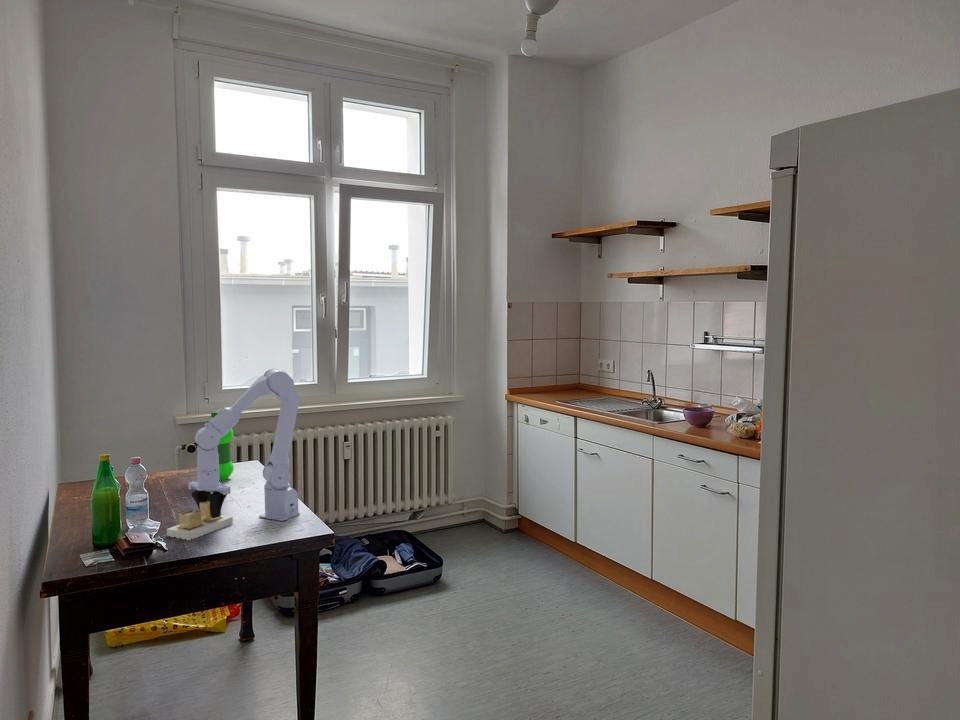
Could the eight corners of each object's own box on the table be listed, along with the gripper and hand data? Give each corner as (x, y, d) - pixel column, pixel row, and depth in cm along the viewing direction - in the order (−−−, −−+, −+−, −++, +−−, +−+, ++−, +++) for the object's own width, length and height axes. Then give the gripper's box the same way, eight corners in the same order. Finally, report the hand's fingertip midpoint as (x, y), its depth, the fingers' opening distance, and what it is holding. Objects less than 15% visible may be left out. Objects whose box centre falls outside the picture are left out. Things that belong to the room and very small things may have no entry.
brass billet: (221, 520, 195) (220, 499, 195) (210, 524, 192) (209, 503, 191) (211, 518, 197) (210, 498, 197) (200, 522, 193) (199, 501, 193)
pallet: (232, 523, 196) (232, 516, 196) (189, 540, 182) (188, 533, 182) (211, 519, 200) (211, 513, 200) (167, 536, 186) (166, 528, 186)
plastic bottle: (198, 481, 245) (195, 412, 243) (221, 474, 254) (219, 408, 253) (217, 484, 240) (215, 414, 239) (240, 477, 250) (238, 410, 248)
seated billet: (201, 532, 189) (200, 510, 188) (190, 536, 185) (189, 514, 185) (191, 530, 191) (190, 509, 190) (179, 534, 187) (178, 512, 187)
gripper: (178, 470, 193) (180, 516, 194) (216, 475, 186) (217, 523, 187) (198, 465, 199) (200, 510, 200) (235, 469, 193) (237, 516, 194)
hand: (210, 516), depth 194 cm, fingers closed on brass billet, 4 cm apart
